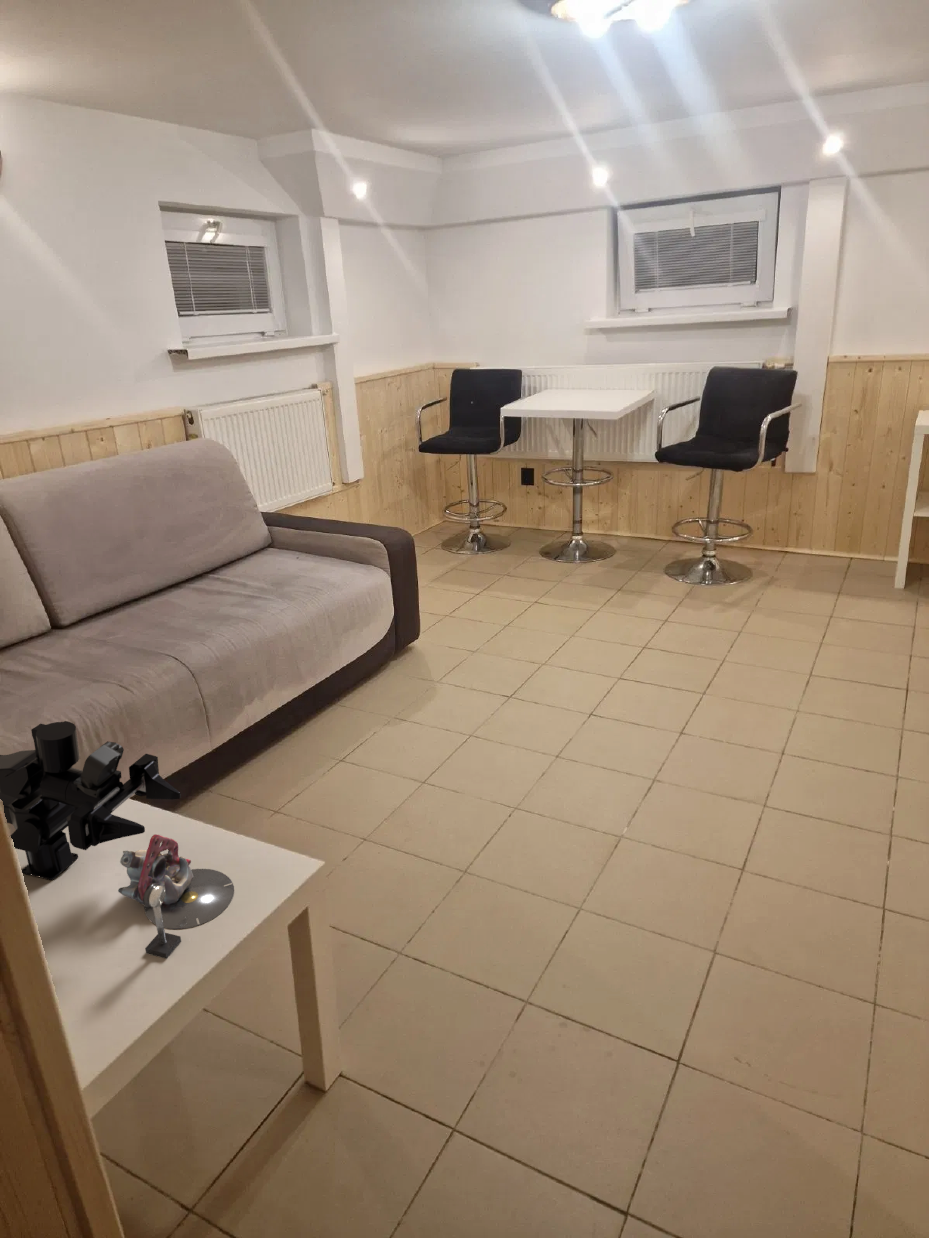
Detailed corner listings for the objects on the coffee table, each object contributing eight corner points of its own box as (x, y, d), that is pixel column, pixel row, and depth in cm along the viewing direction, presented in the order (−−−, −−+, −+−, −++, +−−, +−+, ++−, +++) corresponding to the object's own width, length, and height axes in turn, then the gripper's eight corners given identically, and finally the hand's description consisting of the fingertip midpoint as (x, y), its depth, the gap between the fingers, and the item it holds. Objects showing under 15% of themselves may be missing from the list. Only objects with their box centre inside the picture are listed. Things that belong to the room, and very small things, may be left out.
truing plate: (125, 918, 130) (125, 917, 130) (178, 862, 142) (178, 861, 142) (203, 937, 126) (202, 936, 126) (250, 878, 138) (250, 877, 138)
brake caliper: (181, 908, 128) (129, 852, 126) (137, 933, 132) (86, 880, 130) (215, 861, 138) (168, 809, 136) (173, 886, 142) (127, 835, 140)
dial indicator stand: (146, 953, 123) (134, 892, 119) (160, 936, 126) (150, 876, 122) (166, 958, 122) (155, 897, 118) (181, 941, 125) (171, 880, 121)
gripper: (27, 777, 121) (119, 803, 117) (112, 717, 137) (194, 738, 134) (37, 838, 125) (125, 865, 122) (118, 773, 142) (197, 795, 138)
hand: (162, 812), depth 129 cm, fingers open, 9 cm apart
